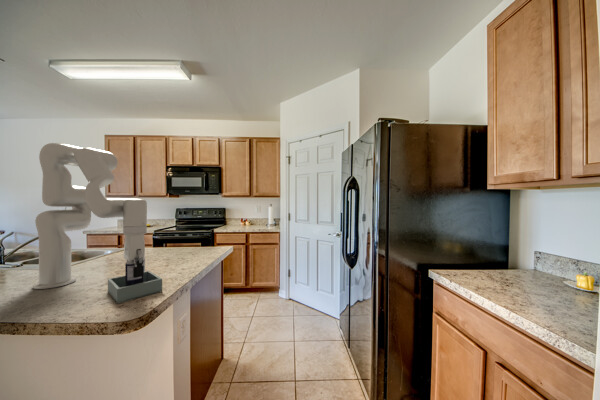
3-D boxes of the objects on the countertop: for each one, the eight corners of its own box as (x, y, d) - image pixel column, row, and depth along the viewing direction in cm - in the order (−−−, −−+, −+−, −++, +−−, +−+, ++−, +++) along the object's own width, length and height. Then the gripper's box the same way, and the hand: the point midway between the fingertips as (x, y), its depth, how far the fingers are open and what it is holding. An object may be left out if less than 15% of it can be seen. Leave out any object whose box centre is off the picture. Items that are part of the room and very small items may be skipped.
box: (107, 291, 90) (107, 278, 90) (149, 282, 100) (149, 270, 100) (117, 303, 79) (117, 289, 79) (162, 291, 90) (162, 278, 90)
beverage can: (146, 287, 92) (146, 257, 92) (135, 293, 87) (135, 261, 87) (133, 287, 93) (133, 257, 93) (121, 292, 87) (121, 261, 87)
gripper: (118, 229, 93) (117, 271, 93) (129, 233, 81) (129, 281, 81) (140, 227, 98) (139, 267, 98) (153, 231, 87) (153, 276, 87)
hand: (134, 274), depth 90 cm, fingers open, 9 cm apart
